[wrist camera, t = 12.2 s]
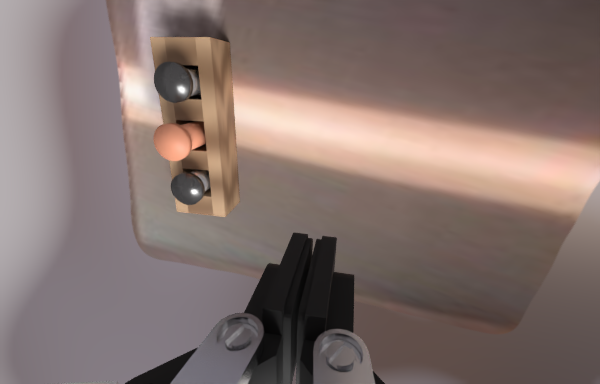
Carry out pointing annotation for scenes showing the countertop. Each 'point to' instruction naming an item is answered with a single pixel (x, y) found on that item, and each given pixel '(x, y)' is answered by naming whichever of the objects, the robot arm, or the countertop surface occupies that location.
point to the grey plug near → (176, 82)
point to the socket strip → (205, 118)
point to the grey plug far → (190, 186)
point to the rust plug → (179, 139)
